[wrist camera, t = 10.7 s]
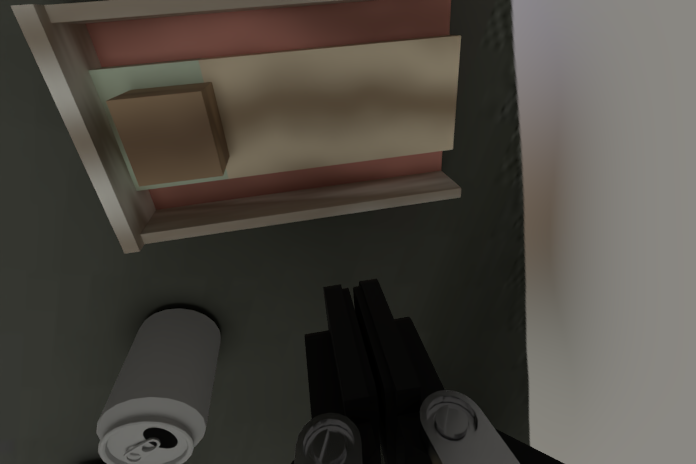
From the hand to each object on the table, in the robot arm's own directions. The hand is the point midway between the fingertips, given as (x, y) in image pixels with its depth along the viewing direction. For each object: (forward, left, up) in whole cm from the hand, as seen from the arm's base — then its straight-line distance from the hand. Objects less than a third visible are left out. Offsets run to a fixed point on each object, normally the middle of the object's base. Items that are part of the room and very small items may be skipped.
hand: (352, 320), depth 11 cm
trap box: (+3, +1, -21) cm, 21 cm away
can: (-17, +15, -21) cm, 31 cm away
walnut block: (+3, +8, -18) cm, 20 cm away
